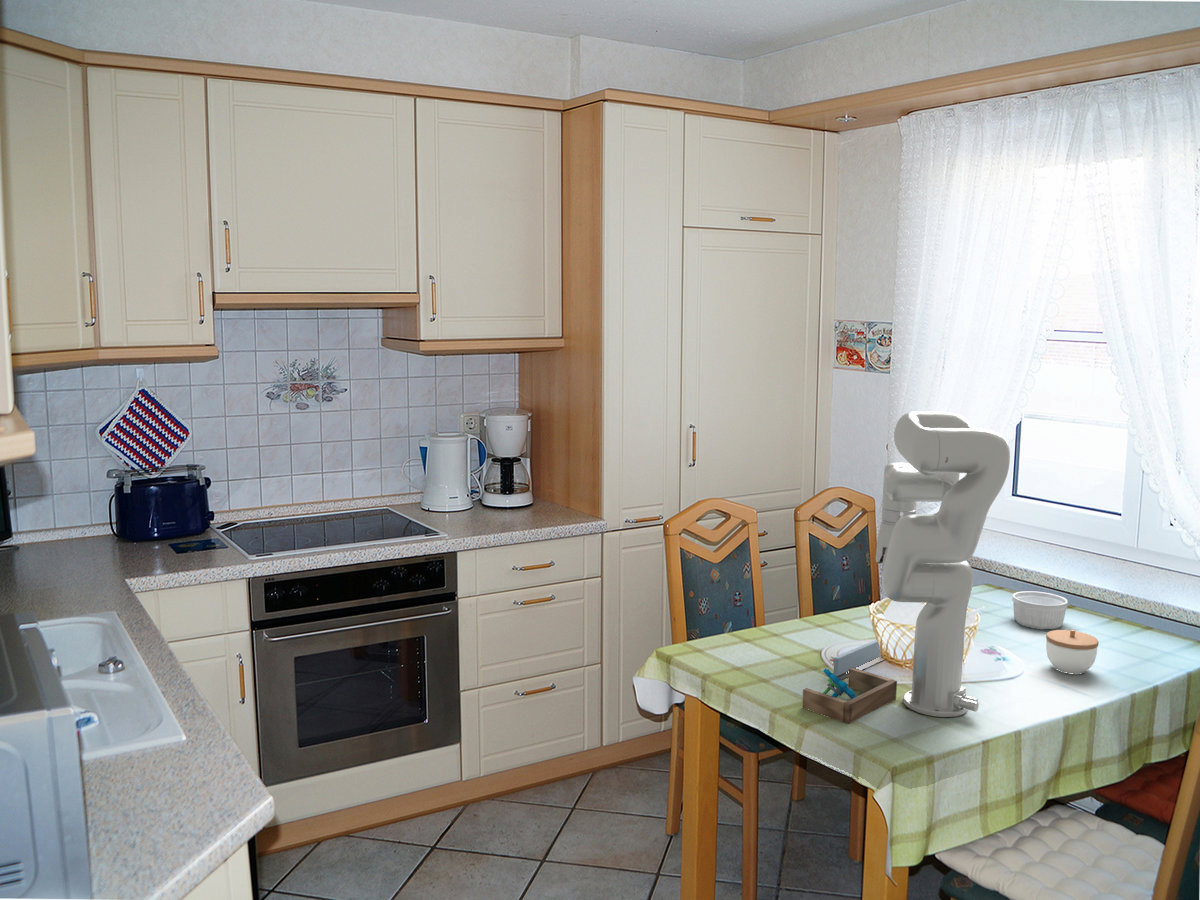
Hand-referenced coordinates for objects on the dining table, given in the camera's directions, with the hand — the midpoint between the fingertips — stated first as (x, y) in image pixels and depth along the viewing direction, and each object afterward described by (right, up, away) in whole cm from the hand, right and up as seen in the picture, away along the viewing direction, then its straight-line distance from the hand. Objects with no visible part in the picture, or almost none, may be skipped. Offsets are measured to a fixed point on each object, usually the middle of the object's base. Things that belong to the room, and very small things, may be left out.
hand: (894, 592), depth 236 cm
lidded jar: (+38, -17, -8) cm, 42 cm away
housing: (-13, -18, -20) cm, 29 cm away
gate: (-11, -16, -8) cm, 21 cm away
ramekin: (+45, -12, +26) cm, 53 cm away
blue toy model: (-19, -19, -28) cm, 39 cm away
